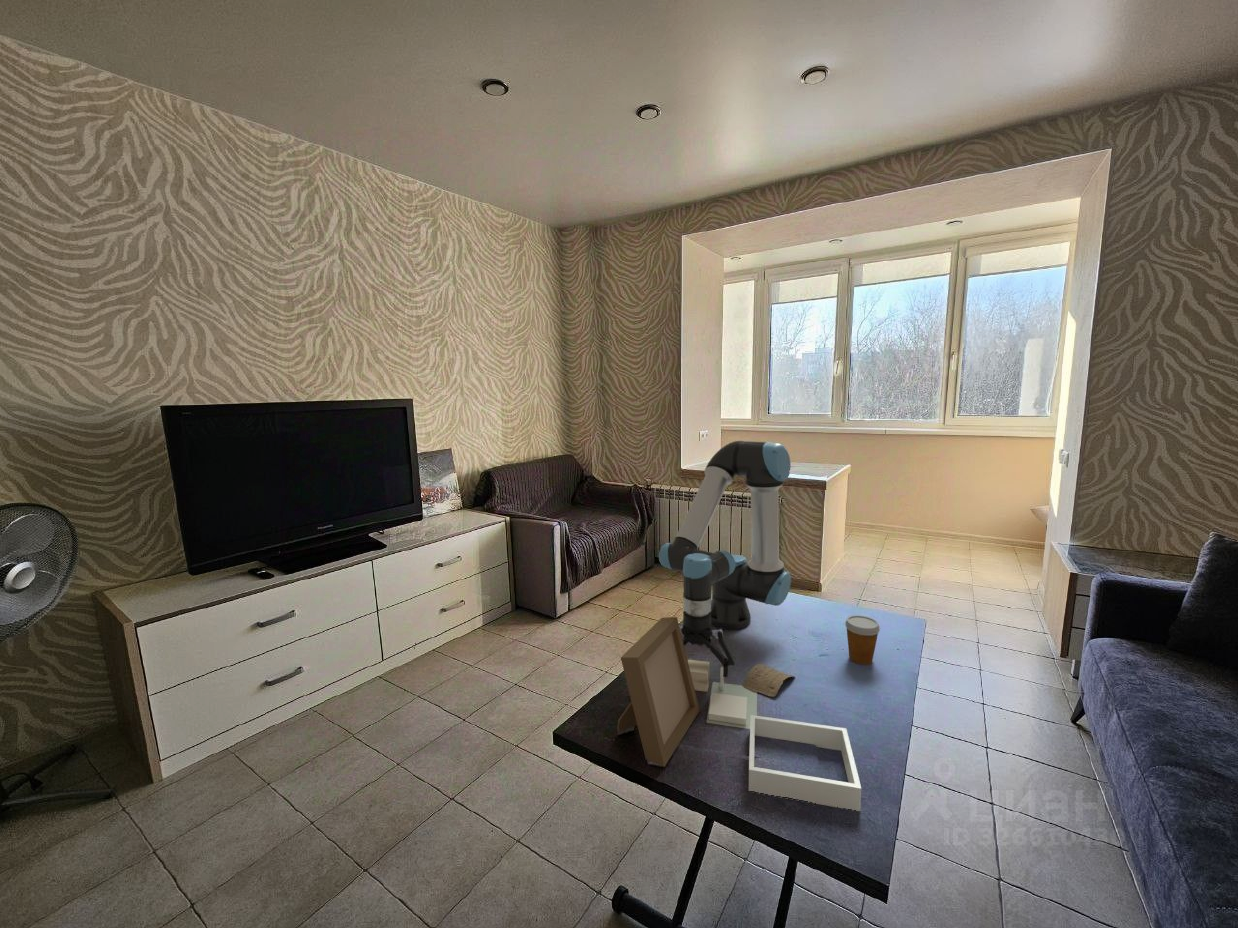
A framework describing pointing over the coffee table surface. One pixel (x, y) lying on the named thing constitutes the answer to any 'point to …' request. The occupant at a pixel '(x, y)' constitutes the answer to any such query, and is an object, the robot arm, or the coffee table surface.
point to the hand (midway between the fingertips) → (696, 683)
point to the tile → (728, 708)
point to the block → (699, 674)
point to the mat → (736, 691)
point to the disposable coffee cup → (861, 638)
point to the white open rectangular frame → (801, 784)
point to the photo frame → (659, 690)
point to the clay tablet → (764, 680)
